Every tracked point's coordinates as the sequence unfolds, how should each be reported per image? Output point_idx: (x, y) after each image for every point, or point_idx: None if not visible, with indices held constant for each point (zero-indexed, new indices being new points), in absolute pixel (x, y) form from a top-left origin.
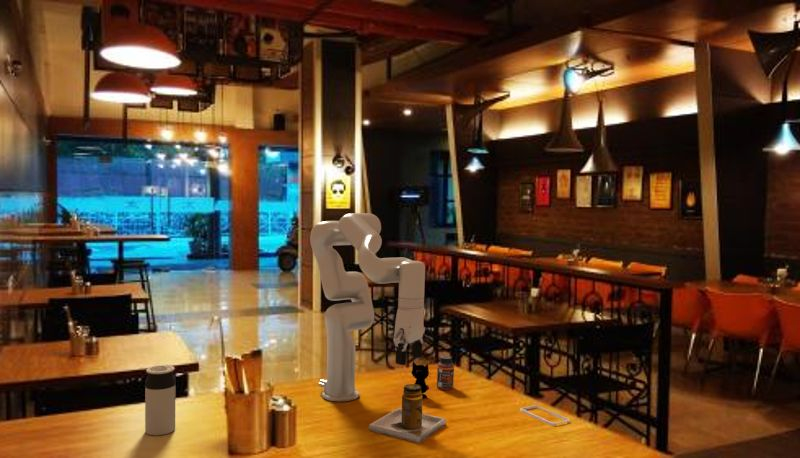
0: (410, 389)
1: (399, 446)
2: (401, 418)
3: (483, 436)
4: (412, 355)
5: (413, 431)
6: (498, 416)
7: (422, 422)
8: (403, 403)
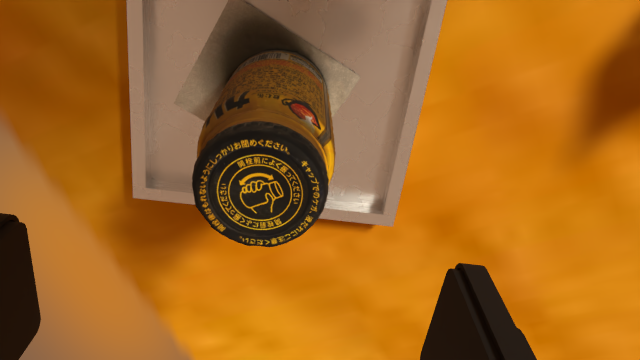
0: (195, 198)
1: (60, 122)
2: (358, 10)
3: (328, 350)
4: (448, 275)
5: None
6: (548, 350)
7: (348, 128)
8: (213, 108)
